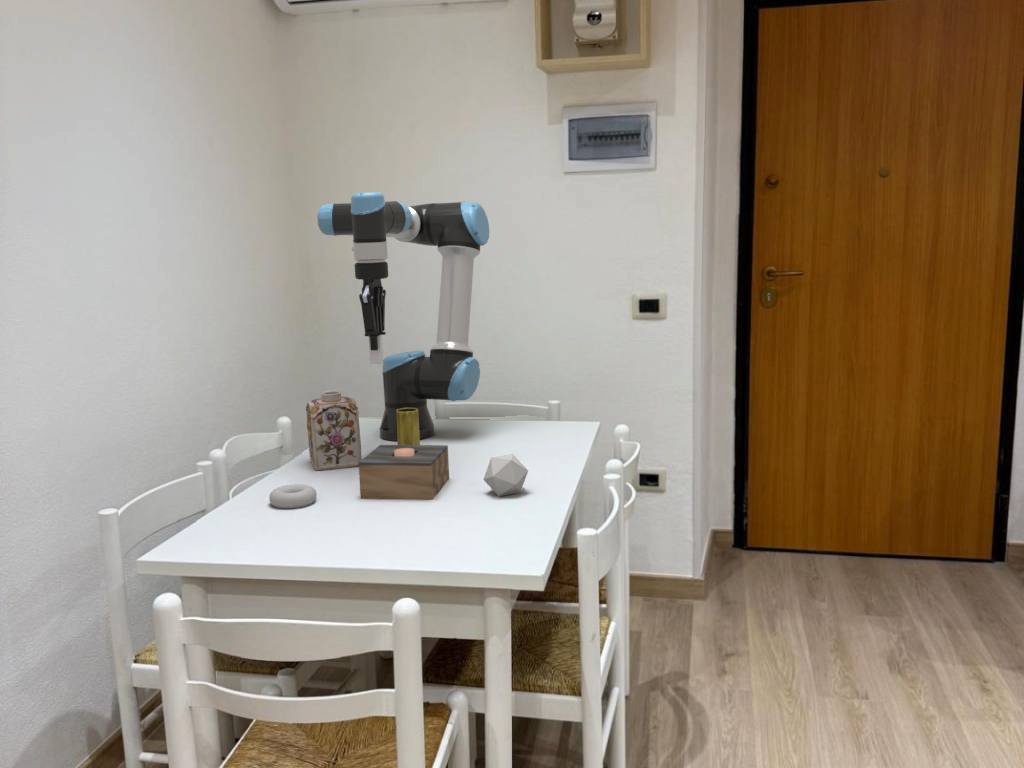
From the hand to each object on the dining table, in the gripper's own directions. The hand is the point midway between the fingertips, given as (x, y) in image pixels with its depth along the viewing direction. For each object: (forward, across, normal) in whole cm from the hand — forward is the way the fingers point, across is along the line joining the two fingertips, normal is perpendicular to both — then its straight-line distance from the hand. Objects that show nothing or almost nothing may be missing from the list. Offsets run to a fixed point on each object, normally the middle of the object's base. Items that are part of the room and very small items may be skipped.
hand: (376, 363), depth 223 cm
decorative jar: (+27, -9, -15) cm, 32 cm away
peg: (+25, +12, +9) cm, 29 cm away
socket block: (+26, +12, +9) cm, 30 cm away
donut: (+27, +24, -13) cm, 38 cm away
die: (+27, +14, +32) cm, 44 cm away
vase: (+27, -6, +5) cm, 28 cm away
